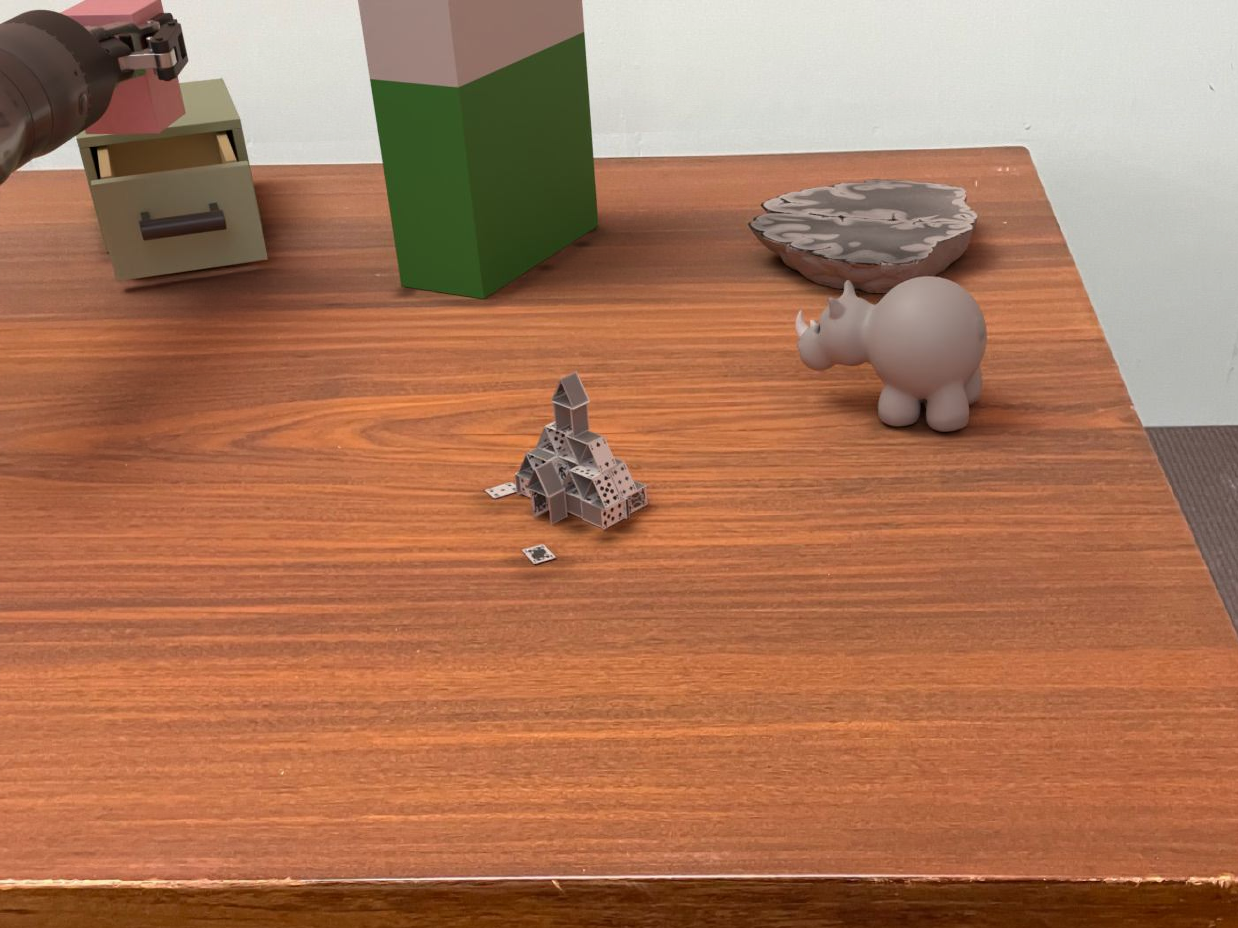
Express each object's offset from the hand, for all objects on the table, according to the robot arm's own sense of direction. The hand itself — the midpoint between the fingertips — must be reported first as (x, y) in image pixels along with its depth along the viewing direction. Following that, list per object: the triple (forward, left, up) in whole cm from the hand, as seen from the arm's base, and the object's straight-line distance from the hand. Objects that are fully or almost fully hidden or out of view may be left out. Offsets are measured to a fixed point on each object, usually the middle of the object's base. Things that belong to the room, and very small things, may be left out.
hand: (129, 28), depth 110 cm
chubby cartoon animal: (+58, -16, -18) cm, 63 cm away
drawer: (0, +1, -17) cm, 17 cm away
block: (0, -2, -6) cm, 7 cm away
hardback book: (+24, +7, -18) cm, 31 cm away
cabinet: (-7, +12, -18) cm, 23 cm away
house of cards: (+41, -33, -18) cm, 56 cm away
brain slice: (+52, +11, -18) cm, 56 cm away
